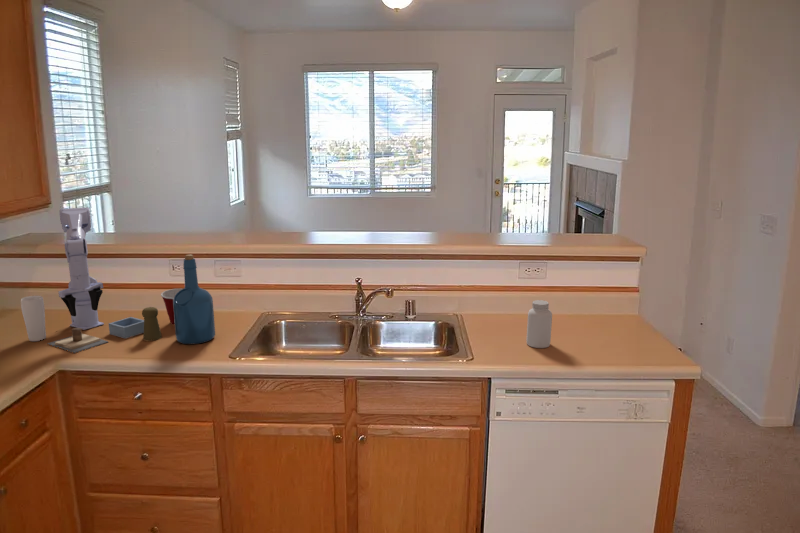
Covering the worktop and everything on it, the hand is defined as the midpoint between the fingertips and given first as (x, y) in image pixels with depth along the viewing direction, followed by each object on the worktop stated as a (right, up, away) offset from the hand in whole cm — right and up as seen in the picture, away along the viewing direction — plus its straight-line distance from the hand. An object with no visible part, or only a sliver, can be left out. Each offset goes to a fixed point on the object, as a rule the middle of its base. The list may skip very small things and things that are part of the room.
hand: (84, 312), depth 209 cm
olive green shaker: (+22, -9, +5) cm, 24 cm away
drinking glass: (-18, -10, +3) cm, 21 cm away
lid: (-2, -10, -1) cm, 10 cm away
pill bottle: (+156, -11, -3) cm, 156 cm away
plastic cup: (+25, -6, +21) cm, 33 cm away
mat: (-2, -10, -1) cm, 11 cm away
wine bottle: (+37, -10, +3) cm, 39 cm away
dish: (+11, -8, +10) cm, 17 cm away
